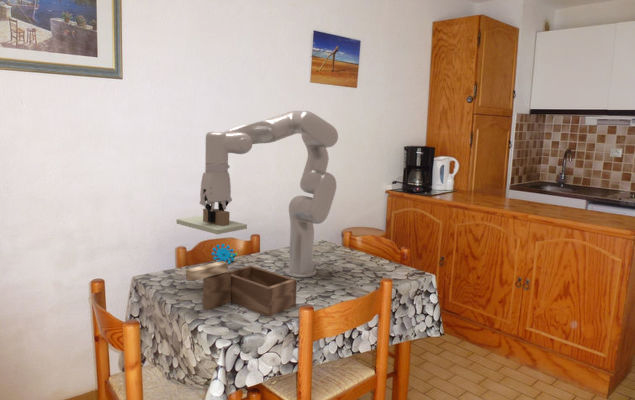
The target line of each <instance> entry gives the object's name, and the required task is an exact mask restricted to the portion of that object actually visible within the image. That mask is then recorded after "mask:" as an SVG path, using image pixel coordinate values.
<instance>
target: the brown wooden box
mask: <svg viewBox="0 0 635 400" xmlns="http://www.w3.org/2000/svg"><path fill="white" fill-rule="evenodd" d="M297 285H298V280H297V279H296V278H294V277H293V278H292V277H291V276H285V275H283V274H280V273H276V272H273V271H270V270H267V269H263V268H262V267H259V266H258V267H257V266H254V265H246V266H243V267H239V268H236V269H232V270H228V272H225V273H221V274H218V275H214V276H210V277H207V278H203V279H202V308H203V309H206V310H207V311H210V310H213V309H217V308H219V307H222V306H225V305H229V304H230V303H232V304H234V305H238V306H239V307H243V308H245V309H247V310H250V311H251V312H252V311H253V312H255V313H258V314H259V315H262V316H265V317H267V318H269V317H271V316H274V315H277V314H279V313H282V312H284V311H286V310H289V309H291V308H294V307H296V306H297Z"/></svg>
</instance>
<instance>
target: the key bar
mask: <svg viewBox="0 0 635 400" xmlns="http://www.w3.org/2000/svg"><path fill="white" fill-rule="evenodd" d="M227 262H228V261H225V262H224V261H220V262H217V261H216V262H211V263H208V264H204V265H203V264H202V265H200V266H196V267H191V268H188V269H185V280H188V281H189V282H195V281H200V280H203V278H207V277H210V276H214V275H218V274H221V273H225V272H228V271H229V264H228V263H227Z"/></svg>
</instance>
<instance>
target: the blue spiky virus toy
mask: <svg viewBox="0 0 635 400" xmlns="http://www.w3.org/2000/svg"><path fill="white" fill-rule="evenodd" d="M225 246H226V247H225ZM220 247H221V248H220ZM230 248H231V246H230V245H228V244H227V245H226V244H225V243H221V246H220V244H216V246H215V247H213V248H212V252H211V256H213V257H212V260H213V261H216V262H220V261H224V262H227V263H228V265H230V264H231V263H232V262H233V261H235V257H237V256H238V252H235V253H234V248H231V249H230Z"/></svg>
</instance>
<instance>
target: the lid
mask: <svg viewBox="0 0 635 400" xmlns="http://www.w3.org/2000/svg"><path fill="white" fill-rule="evenodd" d="M202 211H203V212H202V215H197V216H196V215H195V216H190V217H183V218H182V217H181V218H176V224H177V225H180V226H185V227H188V228H192V229H196V230H200V231H203V232H207V233H211V234H215V235H221V234H227V233H231V232H232V233H233V232H237V231H242V230H246V229H248V224H246V223H243V222H239V221H238V222H237V221H233V220H230V213H231V212H230V211H227V210H224V211H223V210H219V208H214V211H215V223H211V222H208V211H207V210H206V208H205V207H204V208H203V209H202Z"/></svg>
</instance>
